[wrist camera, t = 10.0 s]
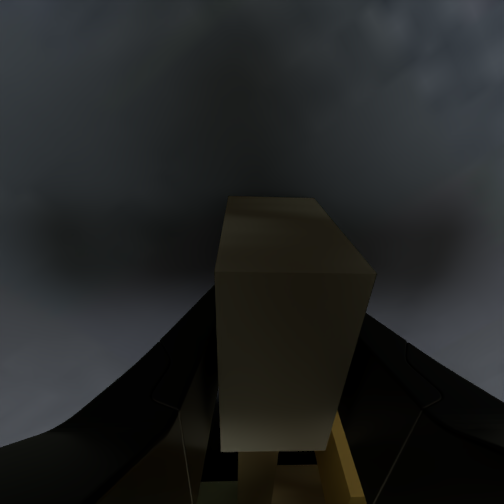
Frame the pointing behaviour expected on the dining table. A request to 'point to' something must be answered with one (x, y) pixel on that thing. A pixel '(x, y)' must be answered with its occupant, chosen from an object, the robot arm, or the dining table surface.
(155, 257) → the dining table surface
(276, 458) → the crook tool
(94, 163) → the dining table surface
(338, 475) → the ochre cube
